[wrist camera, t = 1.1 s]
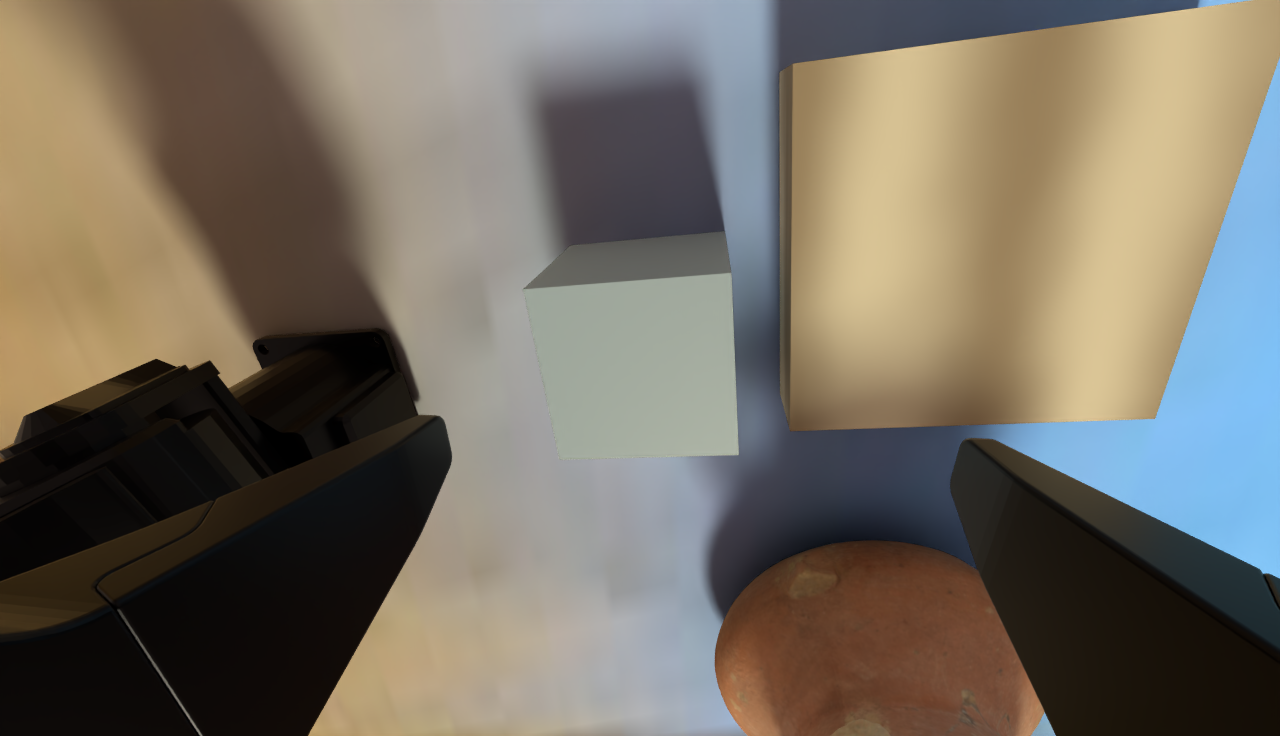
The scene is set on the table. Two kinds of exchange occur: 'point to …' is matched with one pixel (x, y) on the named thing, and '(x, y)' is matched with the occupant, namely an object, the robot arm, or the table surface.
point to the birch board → (1009, 217)
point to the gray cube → (638, 347)
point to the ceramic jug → (872, 648)
